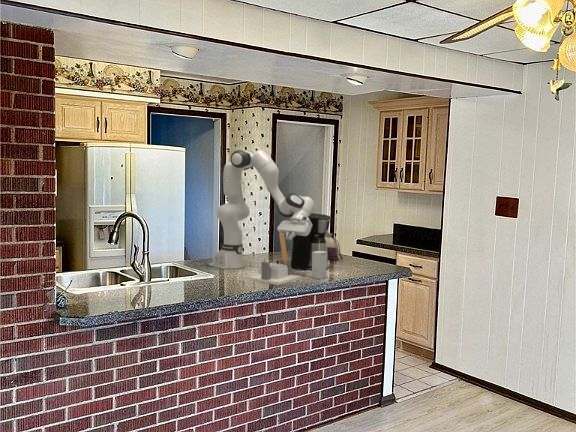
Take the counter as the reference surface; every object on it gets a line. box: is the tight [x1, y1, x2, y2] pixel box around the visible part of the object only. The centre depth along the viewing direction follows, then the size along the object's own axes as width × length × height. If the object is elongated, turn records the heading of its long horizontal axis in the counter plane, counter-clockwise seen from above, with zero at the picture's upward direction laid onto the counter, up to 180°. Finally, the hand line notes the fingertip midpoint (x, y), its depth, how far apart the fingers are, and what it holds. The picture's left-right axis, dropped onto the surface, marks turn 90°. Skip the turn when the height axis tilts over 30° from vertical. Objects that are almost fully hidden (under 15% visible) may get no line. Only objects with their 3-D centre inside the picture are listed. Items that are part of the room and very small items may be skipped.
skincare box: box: [311, 251, 328, 280], centre depth 307 cm, size 8×6×15 cm
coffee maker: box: [275, 212, 332, 271], centre depth 335 cm, size 23×32×34 cm
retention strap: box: [278, 233, 289, 264], centre depth 304 cm, size 18×3×1 cm
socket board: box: [248, 258, 303, 286], centre depth 299 cm, size 20×22×11 cm
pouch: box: [324, 231, 344, 261], centre depth 370 cm, size 25×8×19 cm, turn 57°
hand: (288, 239), depth 306 cm, fingers closed
